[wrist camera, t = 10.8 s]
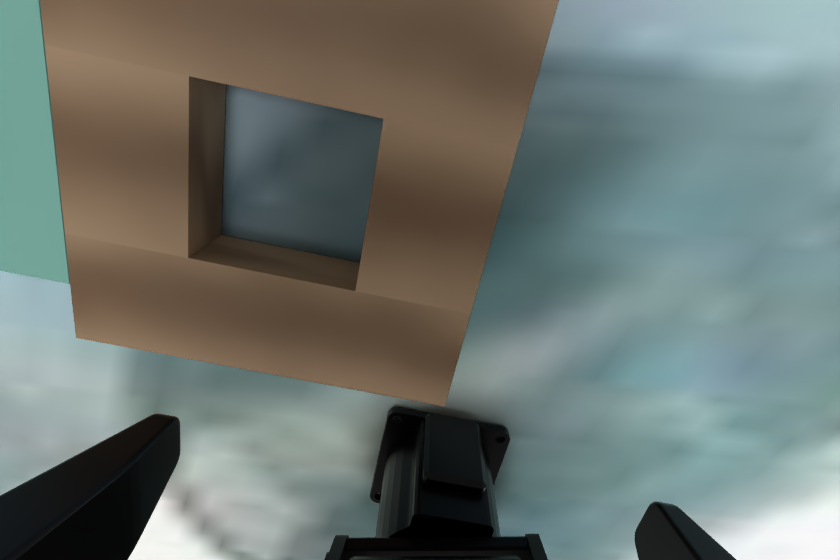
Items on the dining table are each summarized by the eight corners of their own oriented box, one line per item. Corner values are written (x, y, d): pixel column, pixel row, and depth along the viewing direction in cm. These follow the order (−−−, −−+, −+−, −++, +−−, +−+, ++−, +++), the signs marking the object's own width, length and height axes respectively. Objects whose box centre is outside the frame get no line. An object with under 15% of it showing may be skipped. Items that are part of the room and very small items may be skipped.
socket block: (443, 368, 23) (444, 406, 20) (120, 306, 22) (76, 337, 19) (540, 7, 17) (560, -8, 14) (96, -97, 16) (25, -135, 13)
